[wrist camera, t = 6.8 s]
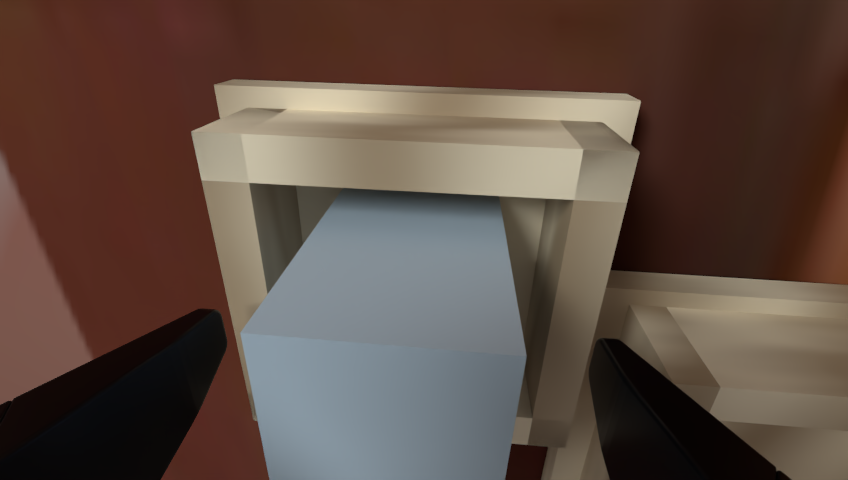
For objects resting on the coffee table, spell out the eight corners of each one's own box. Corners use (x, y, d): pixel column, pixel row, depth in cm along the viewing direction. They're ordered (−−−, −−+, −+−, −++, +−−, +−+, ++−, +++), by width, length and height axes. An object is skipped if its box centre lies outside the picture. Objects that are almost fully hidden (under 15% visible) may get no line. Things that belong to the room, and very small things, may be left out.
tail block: (498, 194, 11) (526, 356, 6) (484, 321, 13) (495, 530, 8) (344, 186, 12) (240, 332, 6) (351, 311, 13) (275, 507, 8)
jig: (1167, 113, 10) (1546, 168, 7) (794, 595, 20) (866, 723, 16) (233, 79, 12) (130, 108, 8) (309, 543, 21) (277, 650, 18)
